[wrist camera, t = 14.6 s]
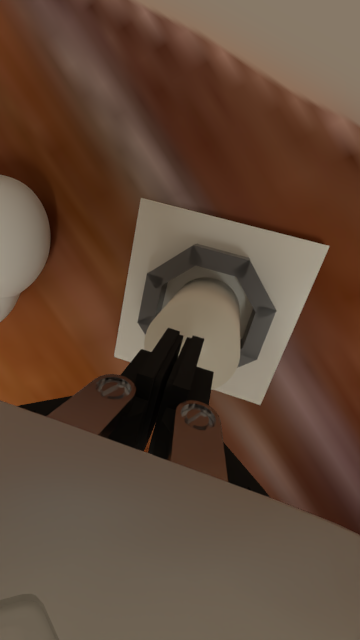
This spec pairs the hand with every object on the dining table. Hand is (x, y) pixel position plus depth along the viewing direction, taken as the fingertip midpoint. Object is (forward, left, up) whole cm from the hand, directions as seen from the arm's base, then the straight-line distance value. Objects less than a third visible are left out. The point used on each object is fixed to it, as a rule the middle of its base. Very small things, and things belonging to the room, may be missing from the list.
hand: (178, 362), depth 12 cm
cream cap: (0, 0, -9) cm, 9 cm away
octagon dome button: (0, 0, -10) cm, 10 cm away
